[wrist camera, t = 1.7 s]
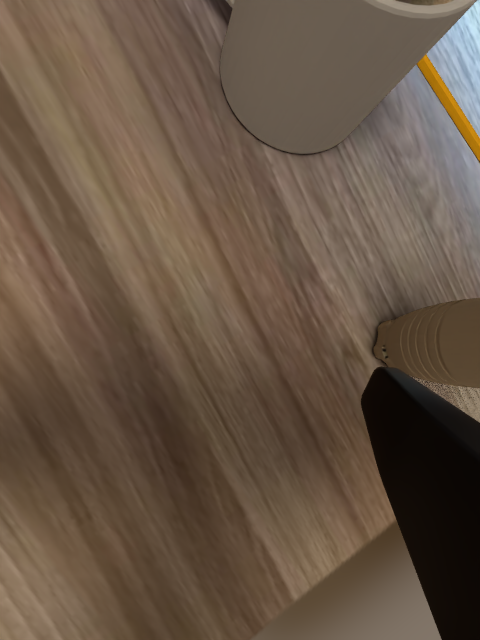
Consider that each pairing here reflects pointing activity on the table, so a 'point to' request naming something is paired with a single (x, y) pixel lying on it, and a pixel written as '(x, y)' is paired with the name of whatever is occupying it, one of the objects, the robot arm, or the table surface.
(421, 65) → the pencil
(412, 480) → the robot arm
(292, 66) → the mug
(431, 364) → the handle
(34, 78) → the table surface
